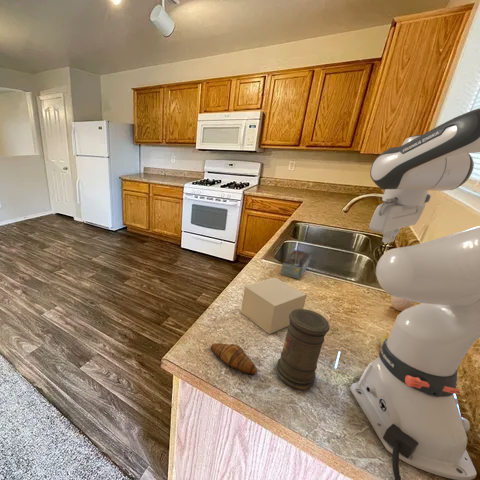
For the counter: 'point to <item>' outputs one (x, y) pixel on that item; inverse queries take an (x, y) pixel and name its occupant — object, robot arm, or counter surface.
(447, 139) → the robot arm
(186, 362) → the counter surface
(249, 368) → the croissant
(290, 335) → the container
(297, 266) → the translucent blue-gray box
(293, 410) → the counter surface
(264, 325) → the beige rectangular block
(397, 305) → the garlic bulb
